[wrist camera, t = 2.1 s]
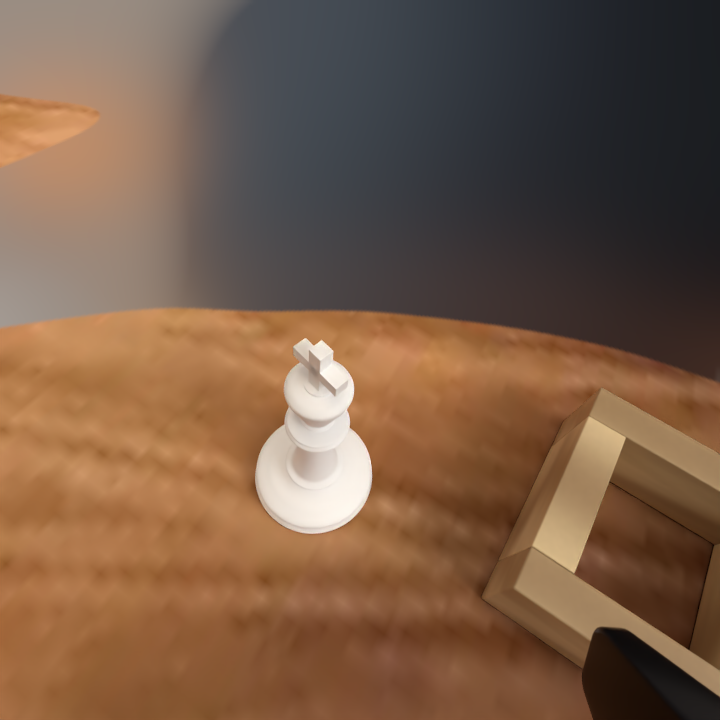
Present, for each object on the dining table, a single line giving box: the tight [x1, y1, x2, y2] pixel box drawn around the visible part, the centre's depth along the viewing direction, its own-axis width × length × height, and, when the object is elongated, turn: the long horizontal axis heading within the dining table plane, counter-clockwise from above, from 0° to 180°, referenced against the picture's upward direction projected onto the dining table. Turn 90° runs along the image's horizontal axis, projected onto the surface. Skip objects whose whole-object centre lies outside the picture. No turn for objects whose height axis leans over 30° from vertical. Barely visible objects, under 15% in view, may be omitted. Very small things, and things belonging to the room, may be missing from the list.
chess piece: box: [255, 338, 372, 534], centre depth 16 cm, size 5×5×10 cm
